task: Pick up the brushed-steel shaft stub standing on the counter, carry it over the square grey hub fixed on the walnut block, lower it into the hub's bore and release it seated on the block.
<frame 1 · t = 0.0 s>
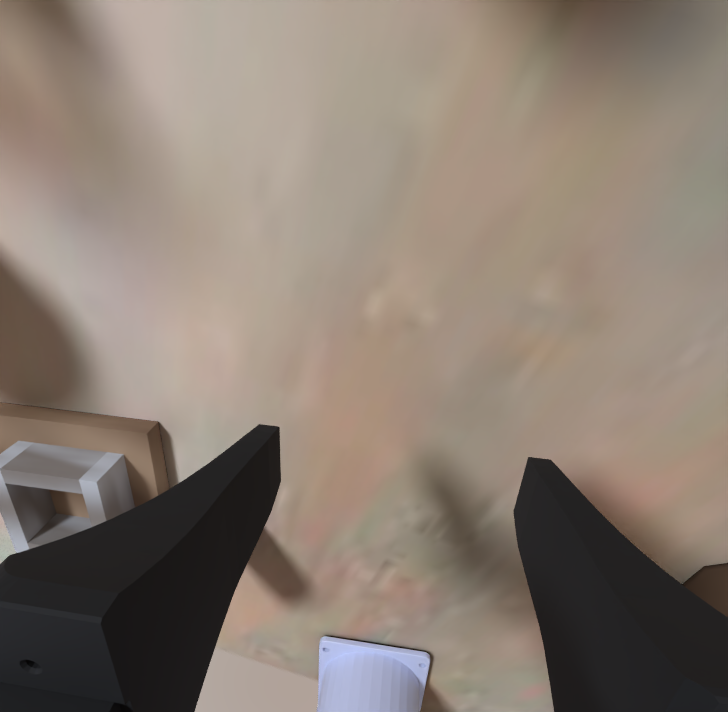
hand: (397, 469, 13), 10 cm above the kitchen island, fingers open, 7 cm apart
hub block: (95, 477, 29), on the kitchen island
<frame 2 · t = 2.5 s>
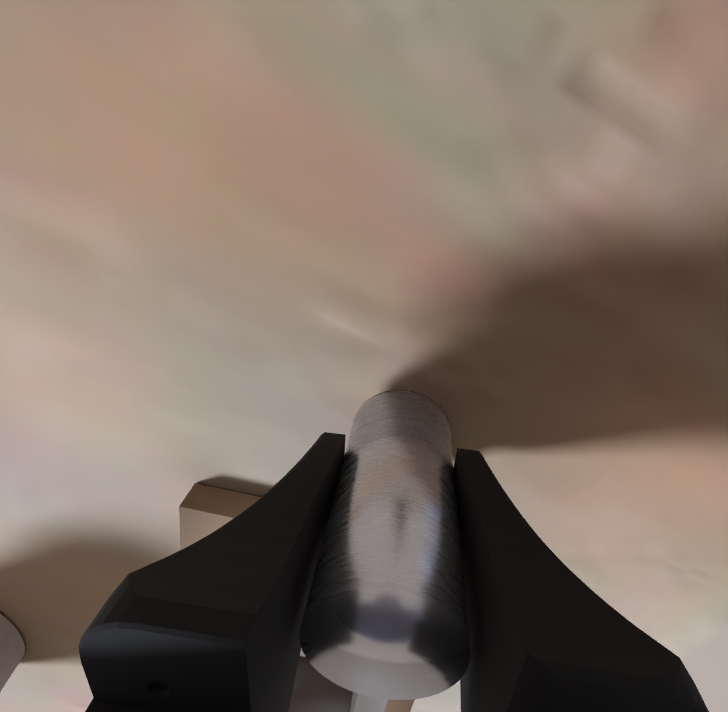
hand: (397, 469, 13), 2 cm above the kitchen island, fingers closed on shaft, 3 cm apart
shaft: (400, 433, 15), on the kitchen island, touching gripper
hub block: (312, 599, 19), on the kitchen island
when the fingers open (4 cm above the kitchen island, at t = 6.9 s): shaft stays where it is, resting on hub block.
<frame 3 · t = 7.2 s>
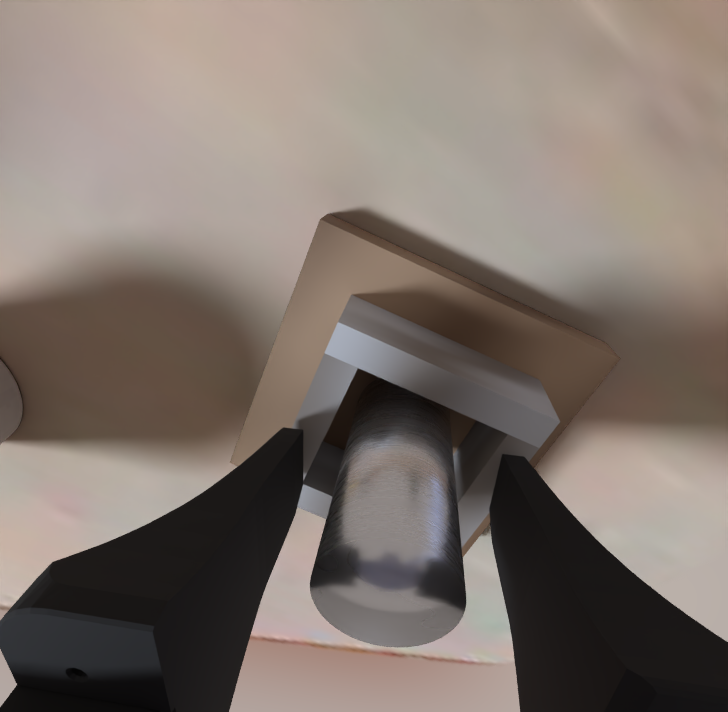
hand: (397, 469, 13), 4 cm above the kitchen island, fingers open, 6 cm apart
shaft: (402, 414, 15), point 1 cm above the kitchen island, touching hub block
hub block: (403, 399, 17), on the kitchen island
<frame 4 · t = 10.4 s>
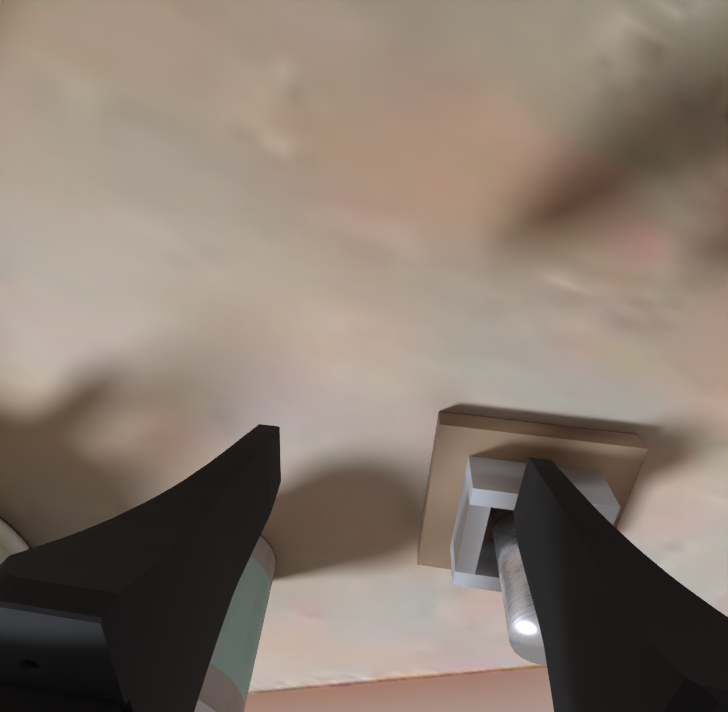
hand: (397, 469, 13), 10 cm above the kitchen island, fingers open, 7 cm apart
coffee cup: (235, 552, 30), on the kitchen island
shaft: (520, 511, 24), point 1 cm above the kitchen island, touching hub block
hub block: (516, 497, 25), on the kitchen island
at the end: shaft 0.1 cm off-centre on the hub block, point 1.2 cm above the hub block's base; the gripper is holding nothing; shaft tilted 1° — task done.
